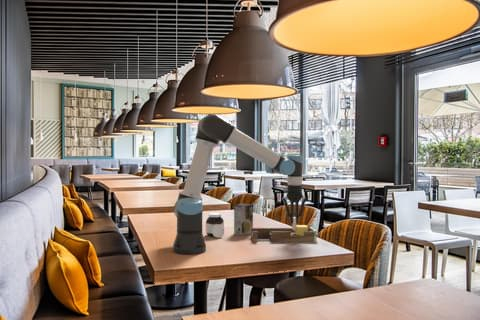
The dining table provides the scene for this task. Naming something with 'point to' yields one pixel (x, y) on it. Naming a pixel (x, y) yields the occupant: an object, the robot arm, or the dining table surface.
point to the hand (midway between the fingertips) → (294, 229)
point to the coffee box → (243, 219)
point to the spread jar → (215, 225)
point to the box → (282, 235)
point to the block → (300, 229)
